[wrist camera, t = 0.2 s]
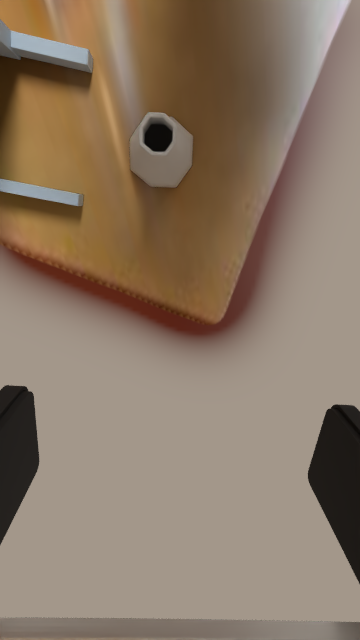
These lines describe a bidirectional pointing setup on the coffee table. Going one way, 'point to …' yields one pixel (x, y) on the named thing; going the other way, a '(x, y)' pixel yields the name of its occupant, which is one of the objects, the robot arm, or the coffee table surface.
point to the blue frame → (52, 52)
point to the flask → (160, 150)
